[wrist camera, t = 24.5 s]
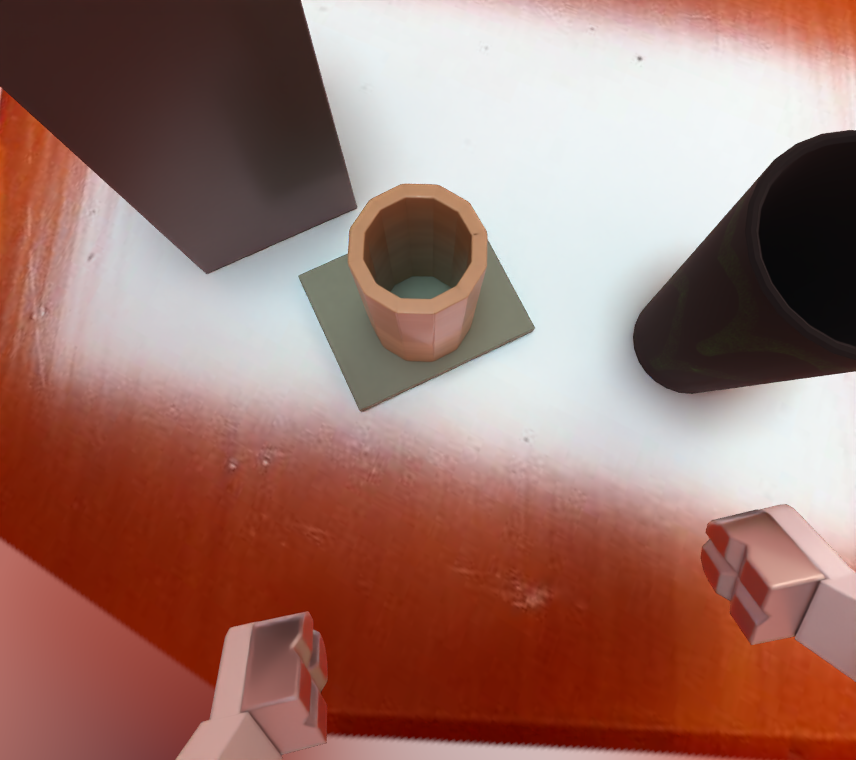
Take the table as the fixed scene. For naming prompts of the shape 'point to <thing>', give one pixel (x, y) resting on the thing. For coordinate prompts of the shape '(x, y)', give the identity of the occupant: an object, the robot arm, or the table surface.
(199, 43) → the peg stand
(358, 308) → the felt coaster
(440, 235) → the orange hollow cylinder
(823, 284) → the cup
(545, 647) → the table surface
